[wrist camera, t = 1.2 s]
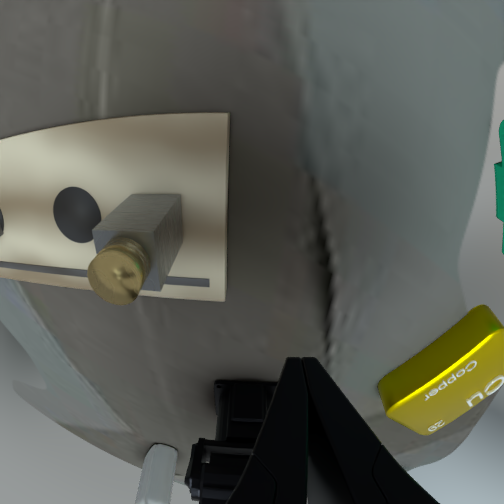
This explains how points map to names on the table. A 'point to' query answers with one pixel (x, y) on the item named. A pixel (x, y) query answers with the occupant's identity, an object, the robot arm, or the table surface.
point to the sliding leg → (136, 247)
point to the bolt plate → (115, 196)
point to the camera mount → (500, 181)
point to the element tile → (447, 374)
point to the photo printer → (157, 475)
